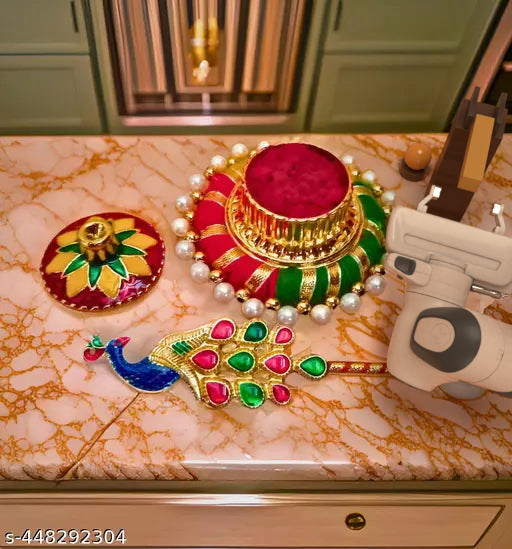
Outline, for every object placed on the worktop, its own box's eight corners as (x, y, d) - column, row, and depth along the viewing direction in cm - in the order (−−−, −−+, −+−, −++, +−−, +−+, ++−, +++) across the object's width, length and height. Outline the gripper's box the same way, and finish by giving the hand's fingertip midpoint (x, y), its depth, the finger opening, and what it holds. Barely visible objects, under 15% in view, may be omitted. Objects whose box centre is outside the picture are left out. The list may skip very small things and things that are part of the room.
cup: (489, 293, 109) (505, 269, 102) (487, 339, 104) (505, 317, 97) (451, 285, 110) (465, 261, 103) (448, 330, 104) (462, 308, 98)
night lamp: (416, 158, 128) (425, 133, 122) (432, 176, 125) (441, 152, 119) (393, 166, 126) (401, 141, 120) (408, 184, 124) (417, 160, 117)
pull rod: (476, 193, 90) (482, 180, 88) (457, 187, 91) (462, 175, 89) (488, 130, 98) (495, 118, 96) (471, 126, 99) (476, 113, 96)
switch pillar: (457, 226, 118) (509, 125, 95) (419, 215, 119) (461, 113, 96) (464, 198, 122) (514, 95, 99) (426, 188, 123) (468, 84, 101)
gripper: (516, 302, 82) (544, 210, 83) (376, 259, 86) (404, 171, 86) (504, 304, 88) (530, 218, 89) (374, 264, 92) (400, 182, 92)
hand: (467, 195), depth 87 cm, fingers open, 8 cm apart
